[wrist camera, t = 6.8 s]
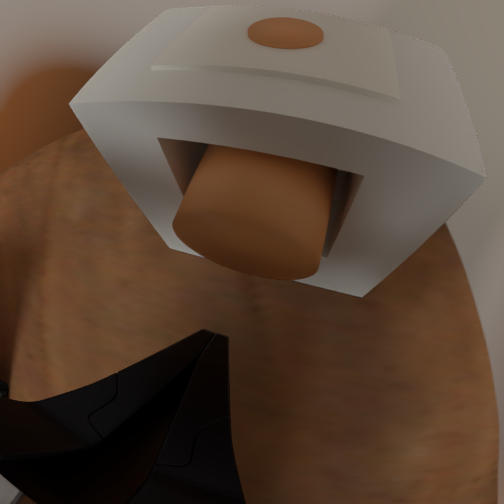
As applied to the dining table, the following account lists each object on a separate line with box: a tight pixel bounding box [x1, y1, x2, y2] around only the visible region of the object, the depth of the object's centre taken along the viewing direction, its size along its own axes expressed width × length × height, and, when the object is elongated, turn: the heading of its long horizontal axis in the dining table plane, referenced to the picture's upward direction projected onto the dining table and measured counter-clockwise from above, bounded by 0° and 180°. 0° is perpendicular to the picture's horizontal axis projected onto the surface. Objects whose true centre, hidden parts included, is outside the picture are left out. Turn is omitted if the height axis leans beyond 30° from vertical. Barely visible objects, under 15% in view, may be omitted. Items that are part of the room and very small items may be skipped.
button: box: [172, 144, 338, 280], centre depth 11 cm, size 4×5×5 cm
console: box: [69, 6, 487, 297], centre depth 13 cm, size 7×12×12 cm, turn 74°
